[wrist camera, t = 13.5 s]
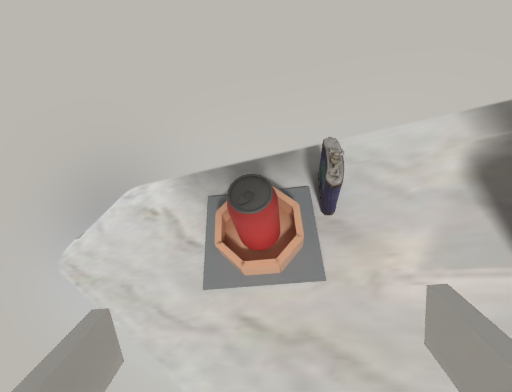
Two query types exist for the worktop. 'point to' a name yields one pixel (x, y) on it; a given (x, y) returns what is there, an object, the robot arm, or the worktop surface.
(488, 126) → the worktop surface
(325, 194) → the flask
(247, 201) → the beer can
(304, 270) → the mat
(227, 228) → the dish
